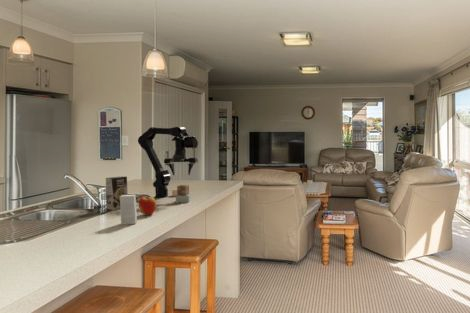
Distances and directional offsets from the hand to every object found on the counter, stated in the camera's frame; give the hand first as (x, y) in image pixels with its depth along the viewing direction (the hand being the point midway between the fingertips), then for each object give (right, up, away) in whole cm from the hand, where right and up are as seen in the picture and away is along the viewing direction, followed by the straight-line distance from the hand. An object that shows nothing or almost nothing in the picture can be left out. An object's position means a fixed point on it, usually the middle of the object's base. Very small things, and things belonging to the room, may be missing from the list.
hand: (181, 175), depth 264 cm
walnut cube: (+3, -10, -15) cm, 18 cm away
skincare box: (-14, -18, -72) cm, 75 cm away
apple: (-9, -16, -52) cm, 56 cm away
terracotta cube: (-4, -13, +9) cm, 16 cm away
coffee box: (-29, -16, -31) cm, 45 cm away
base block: (+3, -14, -15) cm, 21 cm away
